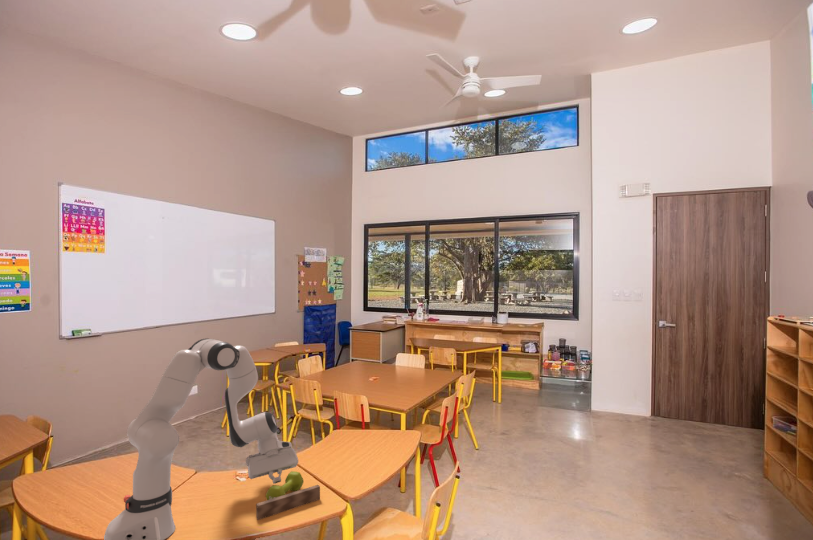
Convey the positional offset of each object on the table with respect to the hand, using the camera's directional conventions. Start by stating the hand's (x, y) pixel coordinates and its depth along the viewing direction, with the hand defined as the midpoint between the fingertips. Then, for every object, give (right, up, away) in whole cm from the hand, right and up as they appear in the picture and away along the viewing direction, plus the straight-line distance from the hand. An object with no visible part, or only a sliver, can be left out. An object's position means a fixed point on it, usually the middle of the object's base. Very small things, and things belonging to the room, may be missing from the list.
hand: (277, 482), depth 168 cm
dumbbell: (+4, -5, -3) cm, 7 cm away
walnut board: (+8, -4, -12) cm, 15 cm away
